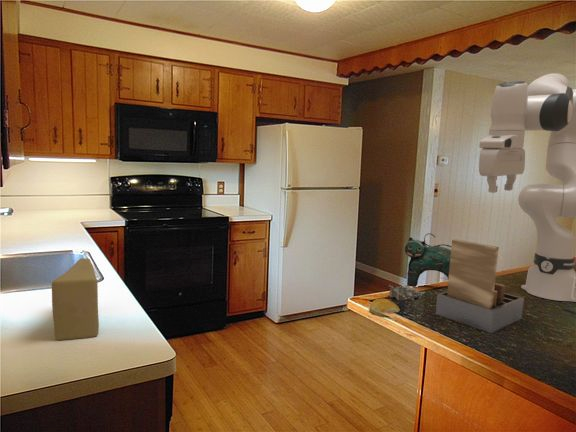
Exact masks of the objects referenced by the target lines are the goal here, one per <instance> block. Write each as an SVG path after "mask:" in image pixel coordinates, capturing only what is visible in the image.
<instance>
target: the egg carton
mask: <svg viewBox="0 0 576 432" xmlns="http://www.w3.org/2000/svg"><path fill="white" fill-rule="evenodd" d="M387 286H388V287H389V288H390V290H389V297H390V298H393V297H395V298H394V299H395V300H396V301H404V300H410V301H414V299H419V300H421V299H423V297H422V296H423V294H425V292H422V291H419V290H417V289H414V288H412V287H411V286H407V285H403V286H395V287H394V286H393V285H391V284H388V285H387Z"/></svg>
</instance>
